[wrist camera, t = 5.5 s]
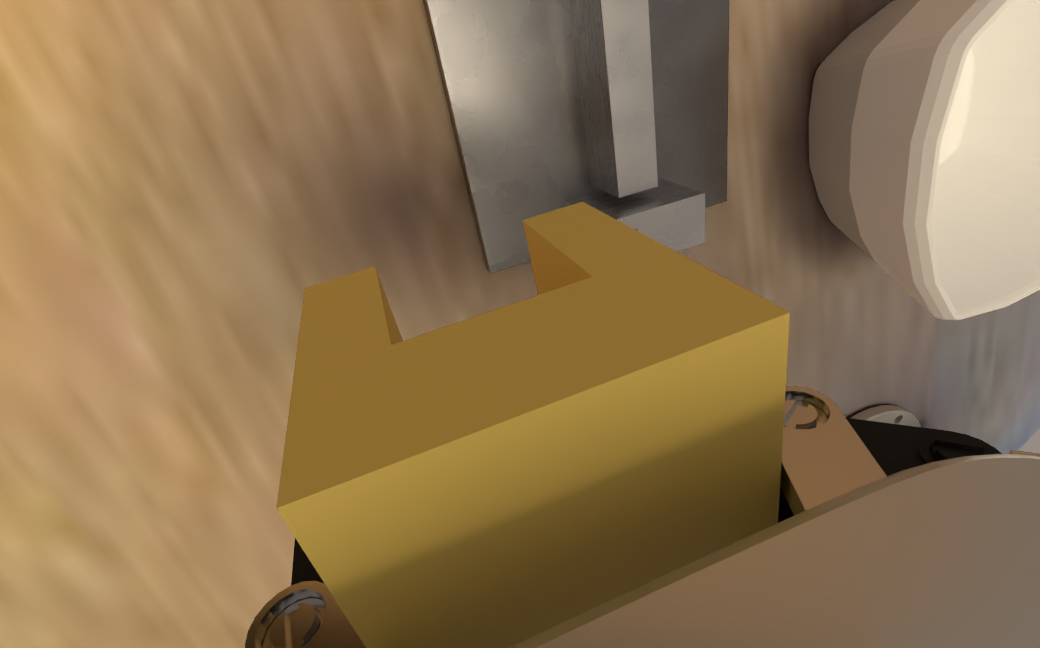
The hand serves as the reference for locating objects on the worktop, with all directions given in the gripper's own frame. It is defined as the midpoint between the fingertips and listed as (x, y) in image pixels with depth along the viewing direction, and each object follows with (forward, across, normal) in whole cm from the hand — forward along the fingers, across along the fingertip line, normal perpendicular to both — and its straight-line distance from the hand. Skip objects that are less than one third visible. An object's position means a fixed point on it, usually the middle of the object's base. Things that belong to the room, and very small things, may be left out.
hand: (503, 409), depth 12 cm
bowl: (+16, -29, +2) cm, 33 cm away
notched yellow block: (+1, 0, 0) cm, 1 cm away
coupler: (+15, -10, -6) cm, 19 cm away
